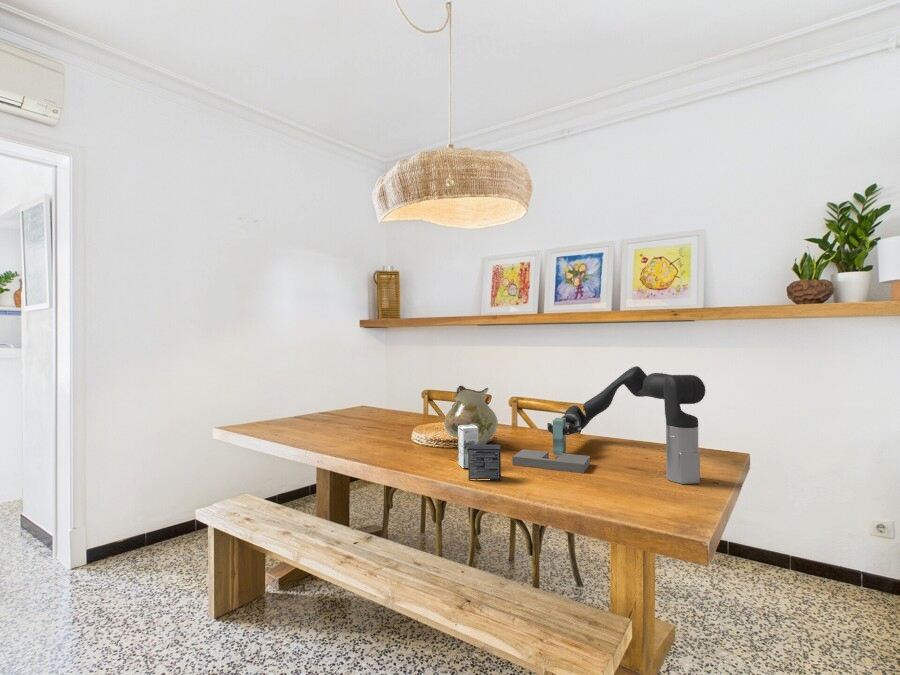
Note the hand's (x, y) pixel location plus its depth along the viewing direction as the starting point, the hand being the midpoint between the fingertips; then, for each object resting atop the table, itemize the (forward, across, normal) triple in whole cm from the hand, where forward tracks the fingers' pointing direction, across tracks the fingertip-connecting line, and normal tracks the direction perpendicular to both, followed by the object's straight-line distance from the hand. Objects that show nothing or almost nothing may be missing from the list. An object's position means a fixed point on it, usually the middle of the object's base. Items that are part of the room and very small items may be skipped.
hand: (558, 431), depth 180 cm
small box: (+35, +16, -10) cm, 40 cm away
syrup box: (+25, +26, -10) cm, 38 cm away
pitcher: (-5, +39, -10) cm, 41 cm away
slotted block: (+10, 0, -10) cm, 14 cm away
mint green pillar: (-2, 0, -8) cm, 9 cm away
